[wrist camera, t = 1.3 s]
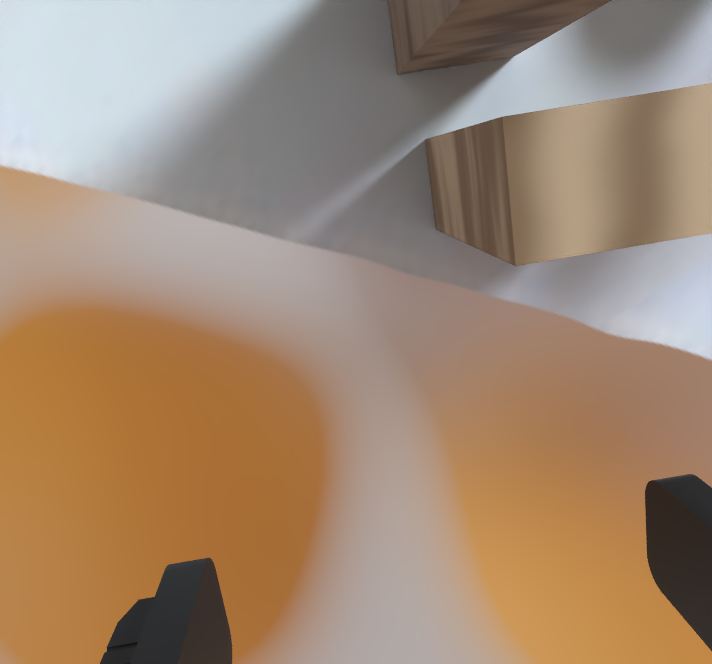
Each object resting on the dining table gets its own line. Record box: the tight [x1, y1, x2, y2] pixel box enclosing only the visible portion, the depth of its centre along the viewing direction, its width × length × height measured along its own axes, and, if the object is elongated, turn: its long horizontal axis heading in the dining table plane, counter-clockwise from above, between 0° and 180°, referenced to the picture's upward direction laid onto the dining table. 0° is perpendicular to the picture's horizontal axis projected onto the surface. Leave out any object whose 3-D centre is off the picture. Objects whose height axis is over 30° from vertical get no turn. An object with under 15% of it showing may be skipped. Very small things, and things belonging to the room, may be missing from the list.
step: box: [425, 83, 712, 266], centre depth 39 cm, size 12×7×20 cm, turn 99°
